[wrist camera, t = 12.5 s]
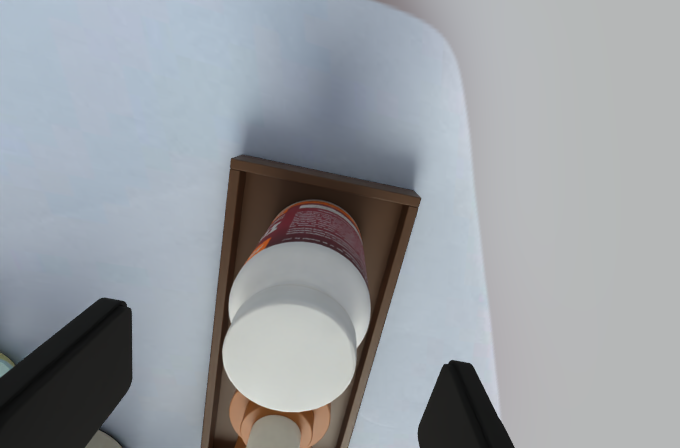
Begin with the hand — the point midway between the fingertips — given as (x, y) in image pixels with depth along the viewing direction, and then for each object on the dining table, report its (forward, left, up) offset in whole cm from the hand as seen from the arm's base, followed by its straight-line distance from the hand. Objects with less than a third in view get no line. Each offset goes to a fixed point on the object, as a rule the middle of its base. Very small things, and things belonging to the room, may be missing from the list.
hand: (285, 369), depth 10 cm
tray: (+9, 0, -13) cm, 16 cm away
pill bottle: (+1, 0, -13) cm, 13 cm away
